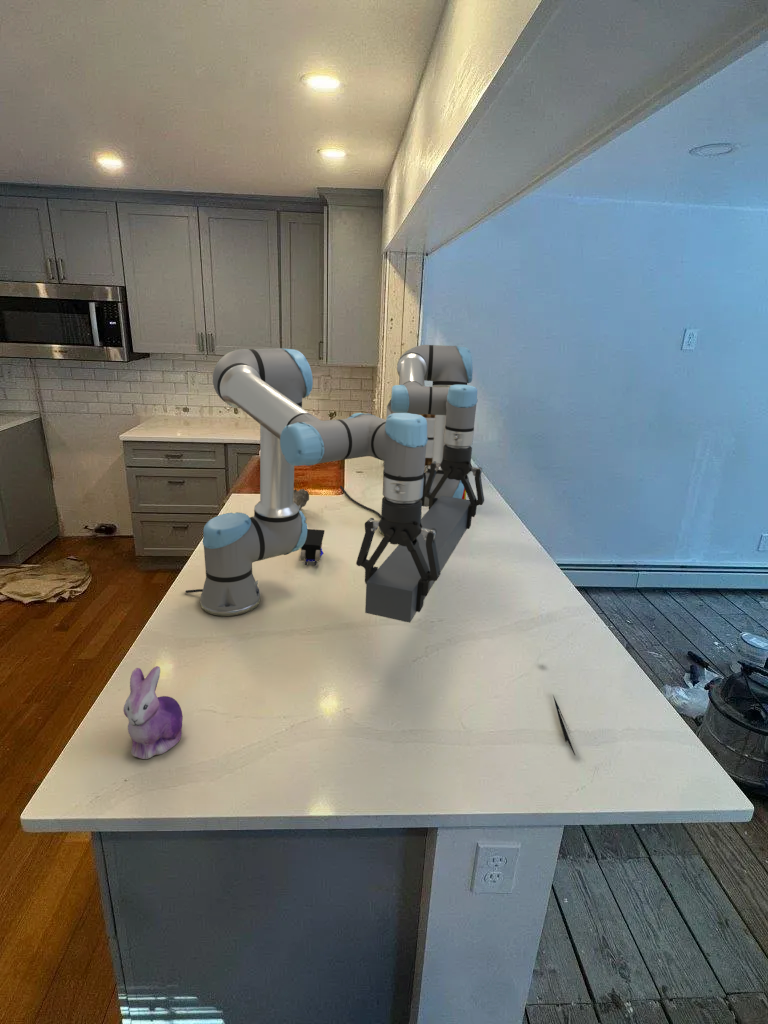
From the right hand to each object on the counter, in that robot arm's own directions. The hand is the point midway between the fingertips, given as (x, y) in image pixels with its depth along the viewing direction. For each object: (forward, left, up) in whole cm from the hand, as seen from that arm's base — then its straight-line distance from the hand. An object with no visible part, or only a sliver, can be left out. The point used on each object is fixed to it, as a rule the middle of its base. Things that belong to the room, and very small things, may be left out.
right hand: (450, 524), depth 157 cm
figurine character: (-37, -21, -19) cm, 47 cm away
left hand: (+24, -42, 0) cm, 49 cm away
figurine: (+12, -87, -19) cm, 90 cm away
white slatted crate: (-90, +77, -19) cm, 120 cm away
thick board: (+12, -21, -1) cm, 25 cm away
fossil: (-73, -6, -19) cm, 76 cm away
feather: (+51, -21, -19) cm, 58 cm away
